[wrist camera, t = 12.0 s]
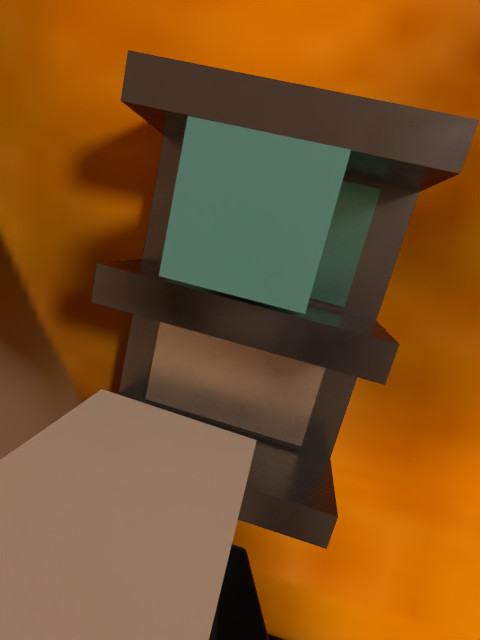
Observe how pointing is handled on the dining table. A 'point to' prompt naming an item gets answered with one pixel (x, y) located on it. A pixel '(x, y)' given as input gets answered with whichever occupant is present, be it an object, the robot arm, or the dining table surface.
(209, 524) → the off-white plug
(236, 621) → the robot arm
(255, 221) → the teal plug
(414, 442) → the dining table surface
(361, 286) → the slot rack
